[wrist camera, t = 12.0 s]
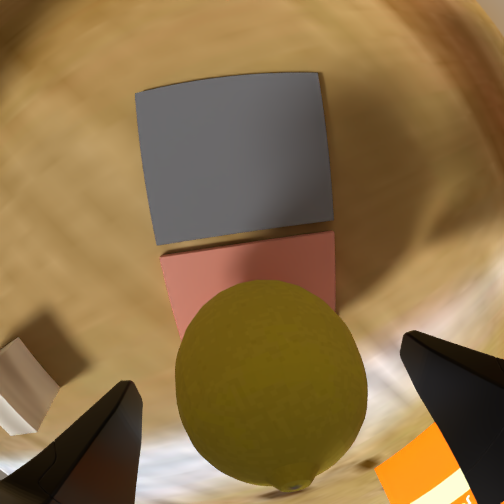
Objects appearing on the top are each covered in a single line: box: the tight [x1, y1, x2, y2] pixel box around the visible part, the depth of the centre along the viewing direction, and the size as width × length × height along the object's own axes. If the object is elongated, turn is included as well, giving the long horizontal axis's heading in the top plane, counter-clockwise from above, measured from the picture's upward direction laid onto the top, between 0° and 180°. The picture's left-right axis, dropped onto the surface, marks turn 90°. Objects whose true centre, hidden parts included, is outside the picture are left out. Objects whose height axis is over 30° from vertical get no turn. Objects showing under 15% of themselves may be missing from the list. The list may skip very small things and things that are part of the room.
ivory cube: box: [0, 337, 60, 436], centre depth 10 cm, size 4×4×4 cm
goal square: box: [160, 231, 335, 342], centre depth 12 cm, size 7×6×1 cm
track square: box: [135, 73, 334, 245], centre depth 10 cm, size 7×6×1 cm
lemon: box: [175, 280, 368, 492], centre depth 8 cm, size 6×6×8 cm
